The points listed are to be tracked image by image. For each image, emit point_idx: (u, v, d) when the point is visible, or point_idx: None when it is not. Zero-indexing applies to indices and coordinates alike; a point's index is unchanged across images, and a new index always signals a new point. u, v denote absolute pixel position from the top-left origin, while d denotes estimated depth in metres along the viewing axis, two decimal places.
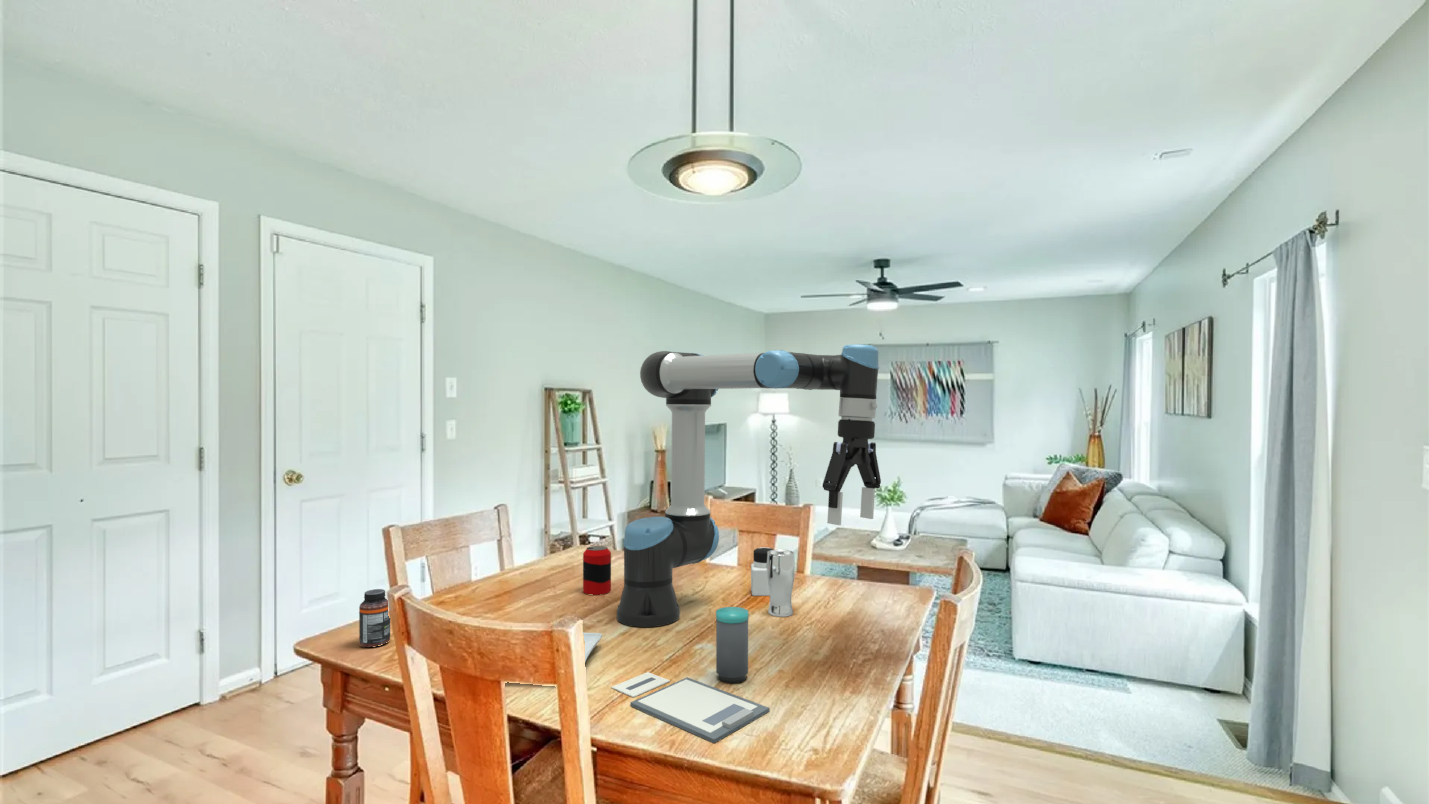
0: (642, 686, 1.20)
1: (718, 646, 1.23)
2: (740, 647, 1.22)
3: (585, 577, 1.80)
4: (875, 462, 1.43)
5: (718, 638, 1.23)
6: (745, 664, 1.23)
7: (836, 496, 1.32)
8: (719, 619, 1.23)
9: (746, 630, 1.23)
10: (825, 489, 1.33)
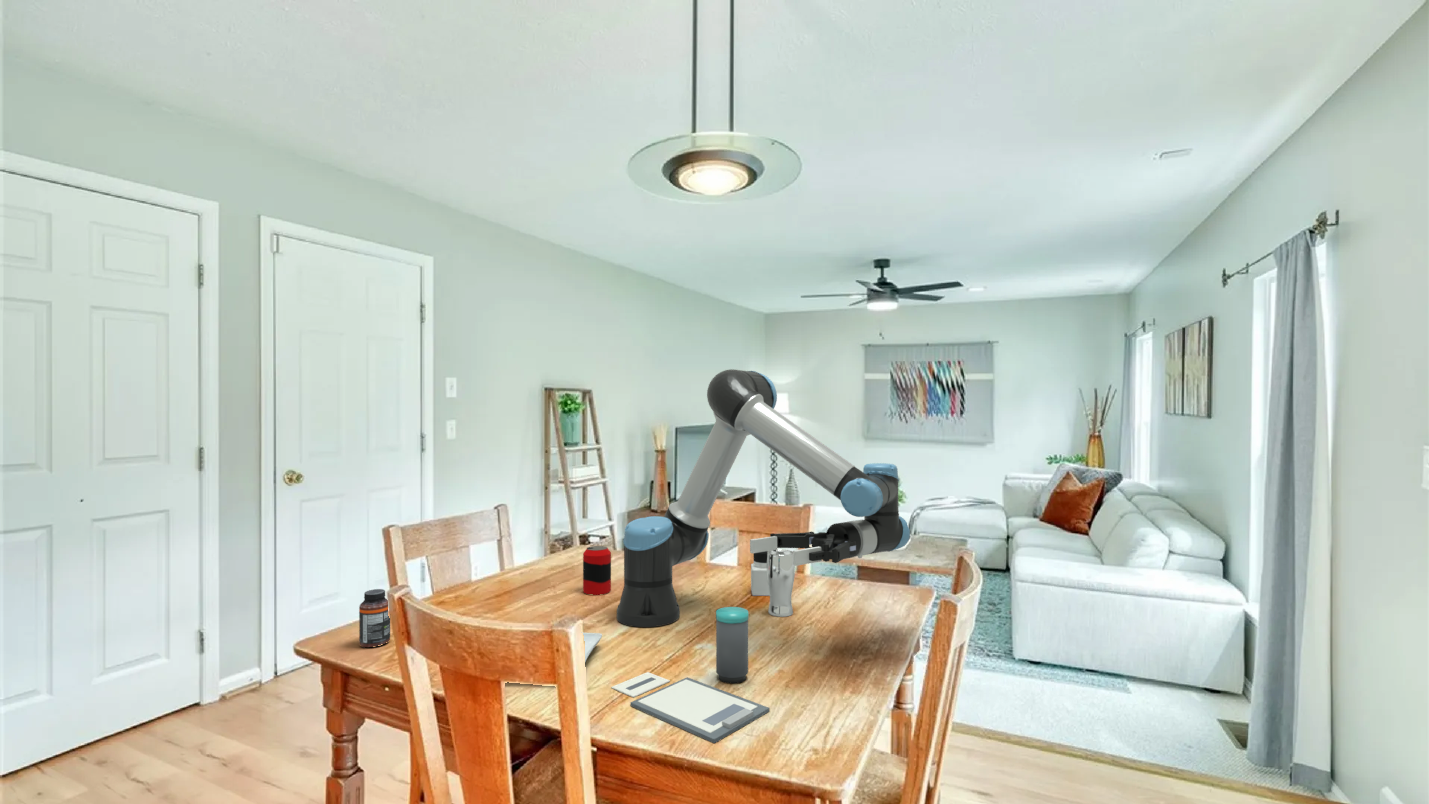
0: (642, 686, 1.20)
1: (718, 646, 1.23)
2: (740, 647, 1.22)
3: (585, 577, 1.80)
4: None
5: (718, 638, 1.23)
6: (745, 664, 1.23)
7: None
8: (719, 619, 1.23)
9: (746, 630, 1.23)
10: (826, 546, 1.27)
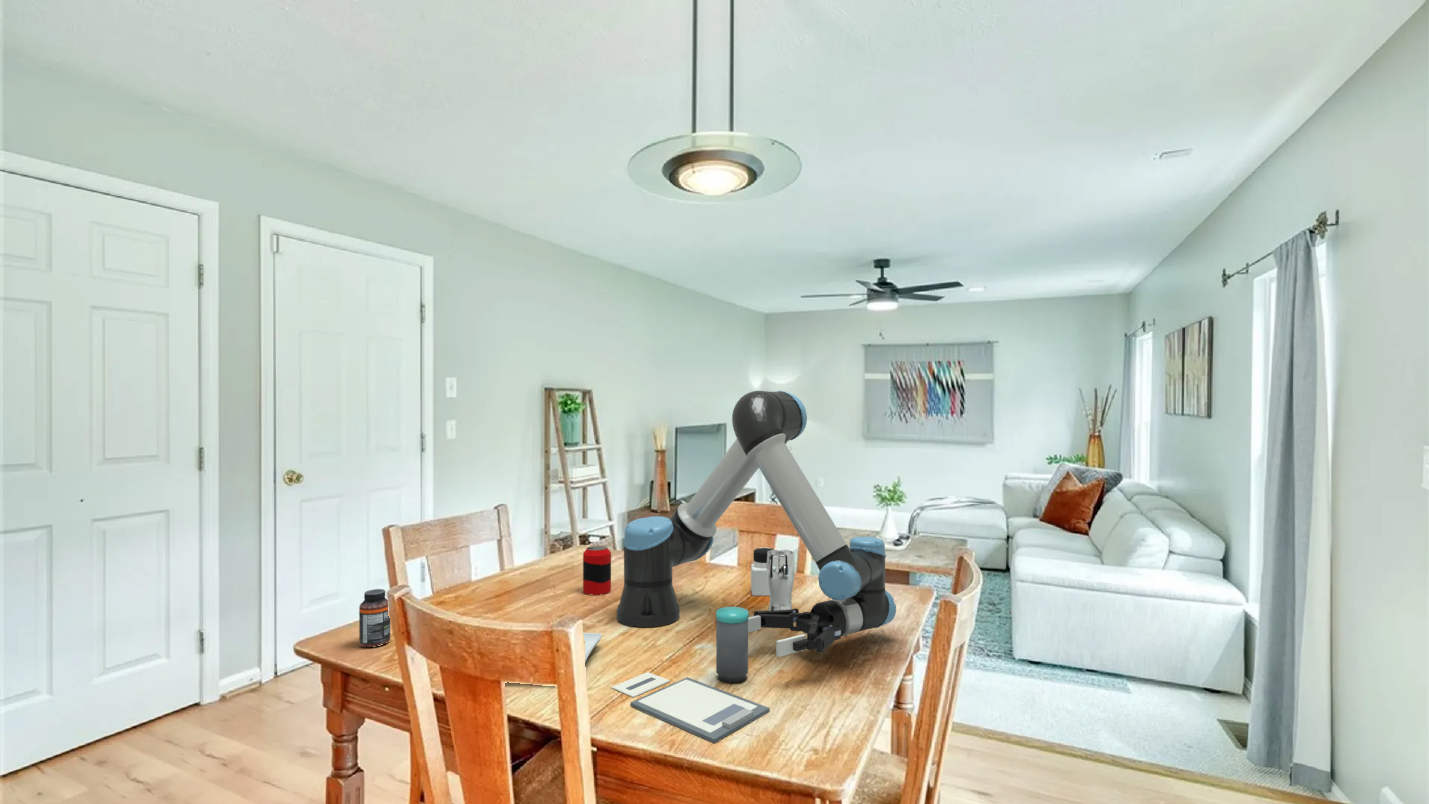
0: (642, 686, 1.20)
1: (718, 646, 1.23)
2: (740, 647, 1.22)
3: (585, 577, 1.80)
4: None
5: (718, 638, 1.23)
6: (745, 664, 1.23)
7: None
8: (719, 619, 1.23)
9: (746, 630, 1.23)
10: (810, 635, 1.24)
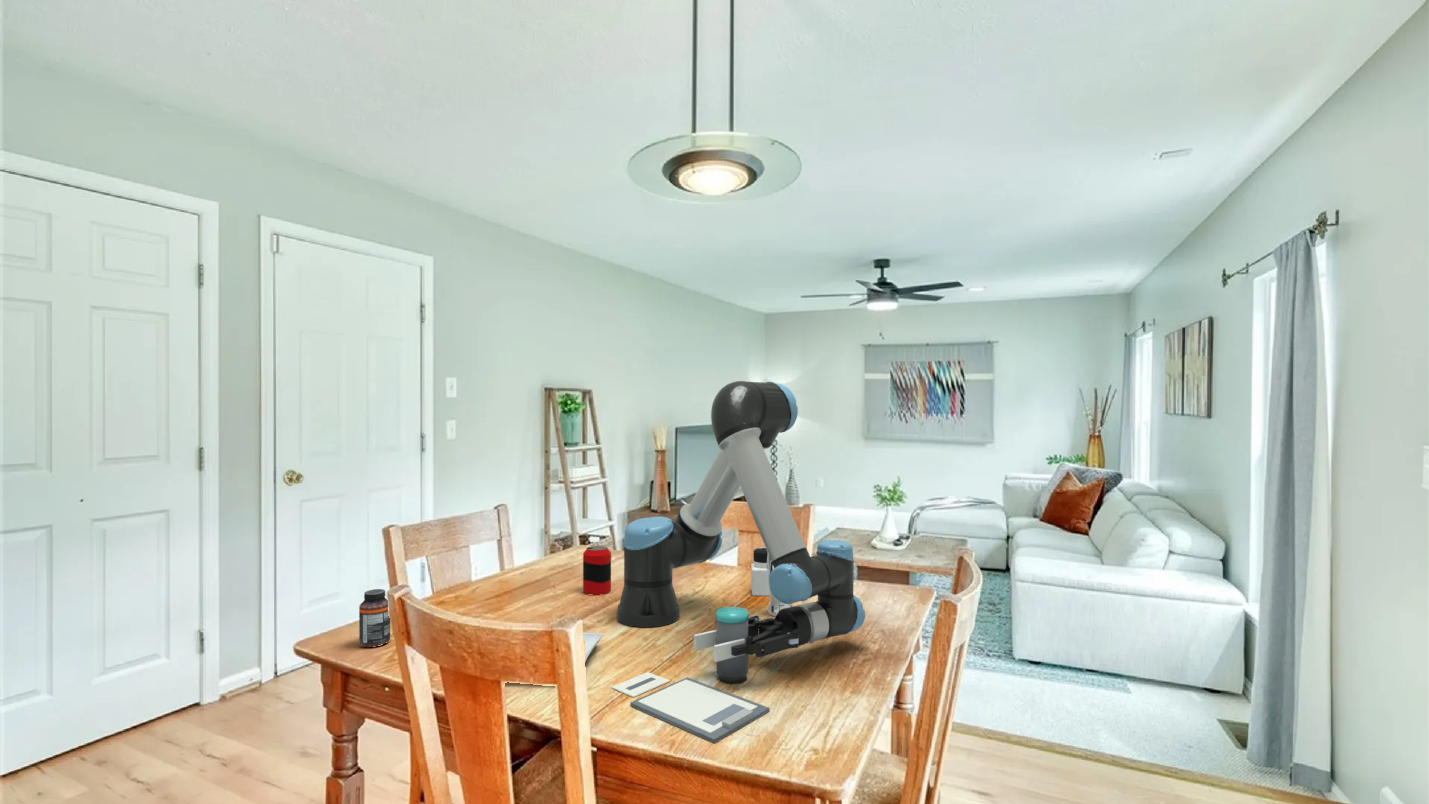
0: (642, 686, 1.20)
1: None
2: None
3: (585, 577, 1.80)
4: None
5: (718, 638, 1.23)
6: (745, 664, 1.23)
7: None
8: (719, 619, 1.23)
9: (746, 630, 1.23)
10: (748, 639, 1.21)
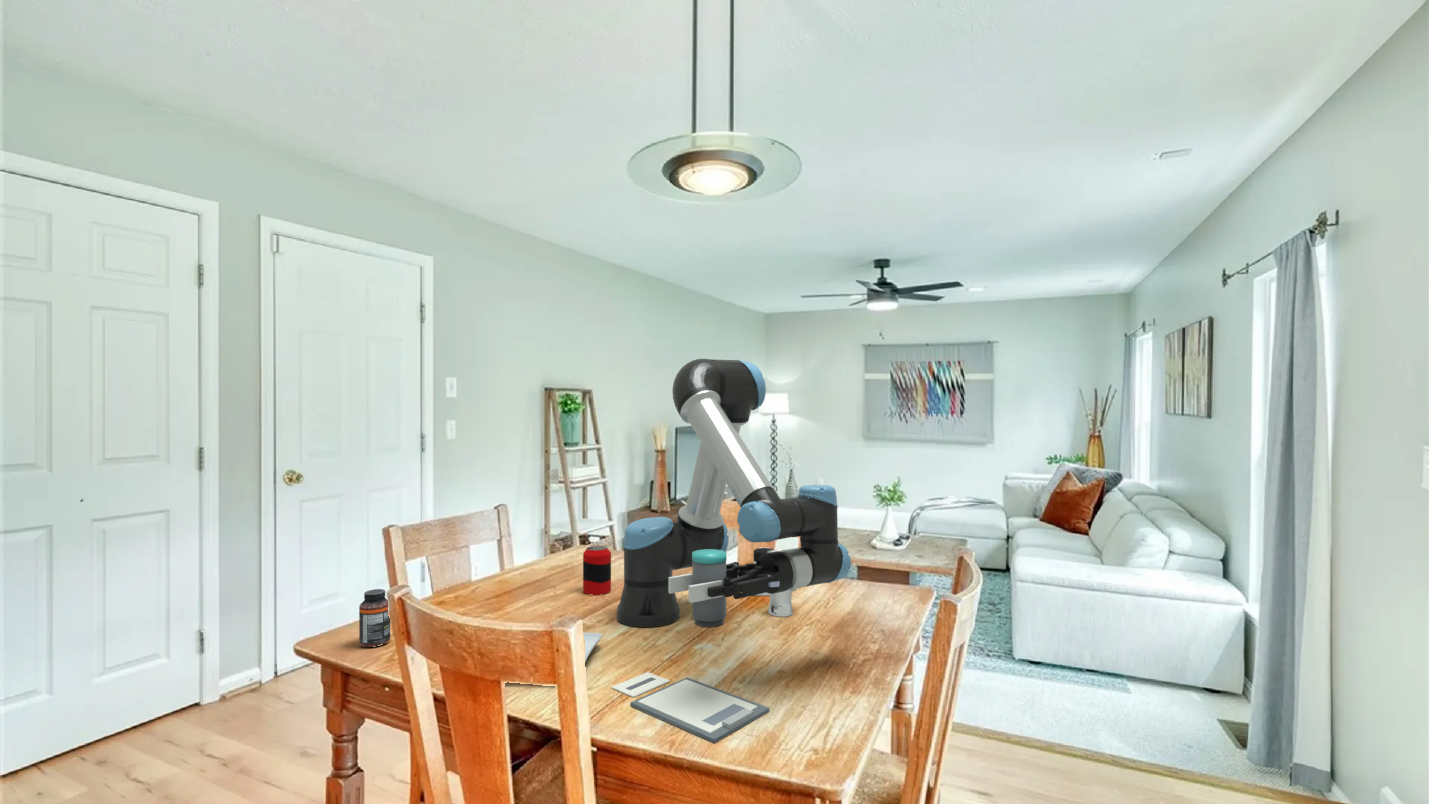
0: (642, 686, 1.20)
1: None
2: None
3: (585, 577, 1.80)
4: None
5: (694, 580, 1.16)
6: (722, 607, 1.16)
7: None
8: (695, 560, 1.16)
9: (724, 572, 1.16)
10: (726, 580, 1.14)
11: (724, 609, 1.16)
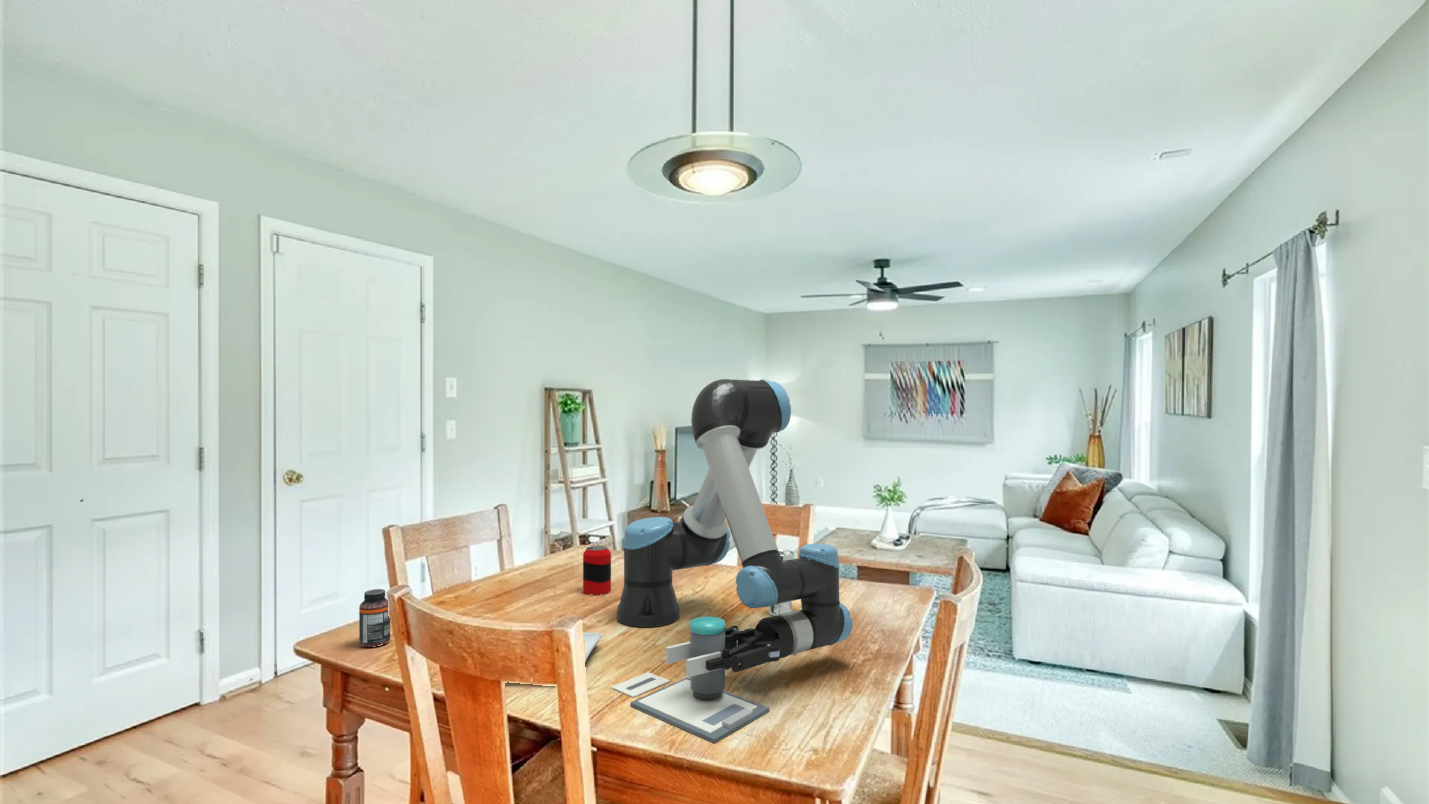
0: (642, 686, 1.20)
1: None
2: None
3: (585, 577, 1.80)
4: None
5: (692, 651, 1.14)
6: (721, 679, 1.13)
7: None
8: (693, 630, 1.13)
9: (722, 642, 1.14)
10: (725, 652, 1.12)
11: (723, 680, 1.14)
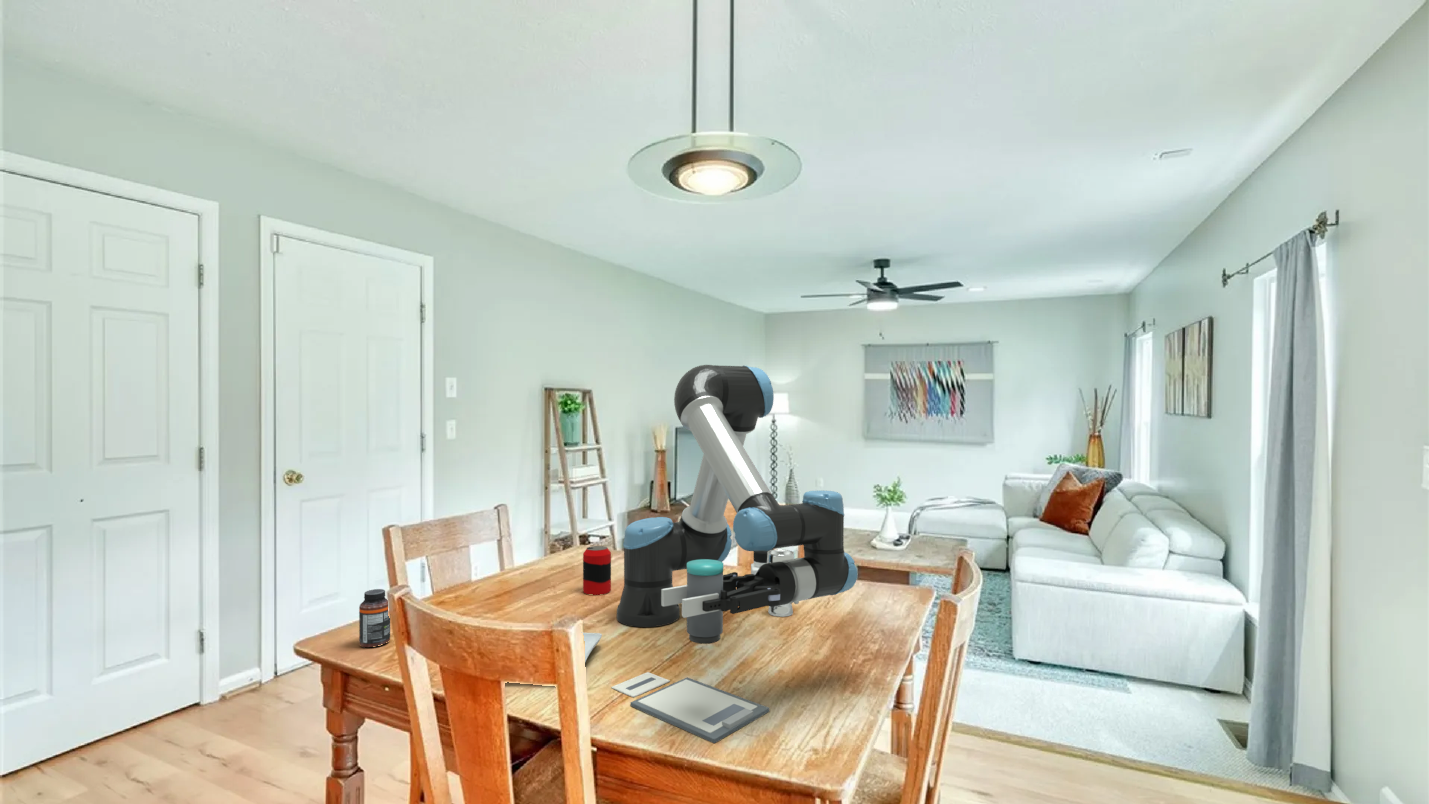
0: (642, 686, 1.20)
1: None
2: None
3: (585, 577, 1.80)
4: None
5: (688, 593, 1.09)
6: (718, 622, 1.08)
7: None
8: (690, 571, 1.08)
9: (720, 584, 1.09)
10: (722, 593, 1.07)
11: (720, 624, 1.09)
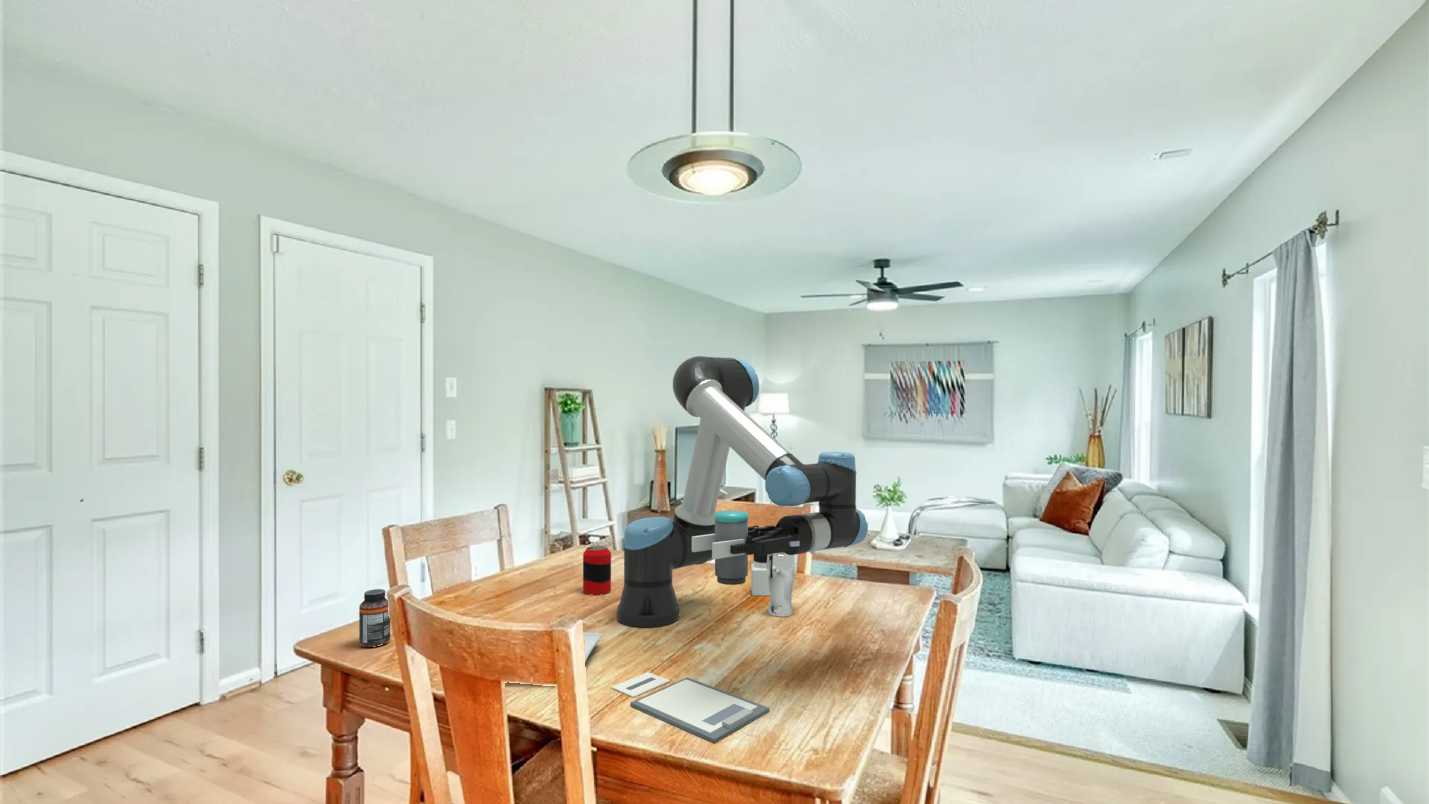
0: (642, 686, 1.20)
1: None
2: None
3: (585, 577, 1.80)
4: None
5: (717, 539, 1.20)
6: (744, 565, 1.19)
7: None
8: (718, 519, 1.19)
9: (746, 531, 1.20)
10: (748, 538, 1.17)
11: (746, 567, 1.20)
